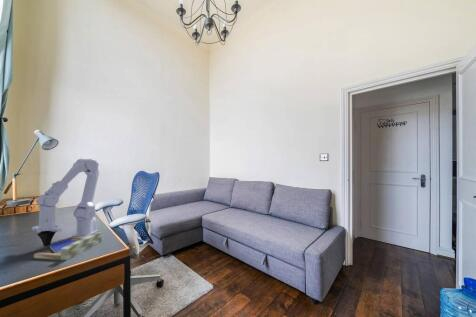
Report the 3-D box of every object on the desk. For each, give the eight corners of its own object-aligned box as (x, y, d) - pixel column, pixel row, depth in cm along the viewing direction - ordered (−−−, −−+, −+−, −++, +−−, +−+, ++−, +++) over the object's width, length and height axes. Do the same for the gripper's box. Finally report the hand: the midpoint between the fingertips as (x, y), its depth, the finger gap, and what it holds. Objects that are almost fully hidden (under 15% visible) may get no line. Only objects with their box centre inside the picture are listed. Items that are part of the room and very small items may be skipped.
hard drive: (78, 245, 96) (70, 238, 103) (56, 251, 89) (49, 244, 96) (78, 248, 96) (70, 241, 103) (56, 255, 89) (49, 247, 96)
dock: (74, 239, 105) (74, 230, 105) (101, 241, 104) (101, 232, 104) (34, 258, 86) (34, 246, 86) (67, 260, 85) (67, 248, 85)
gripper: (24, 220, 93) (24, 248, 93) (52, 221, 91) (51, 250, 91) (41, 216, 100) (40, 242, 100) (66, 217, 98) (66, 243, 98)
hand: (47, 245), depth 96 cm, fingers closed
